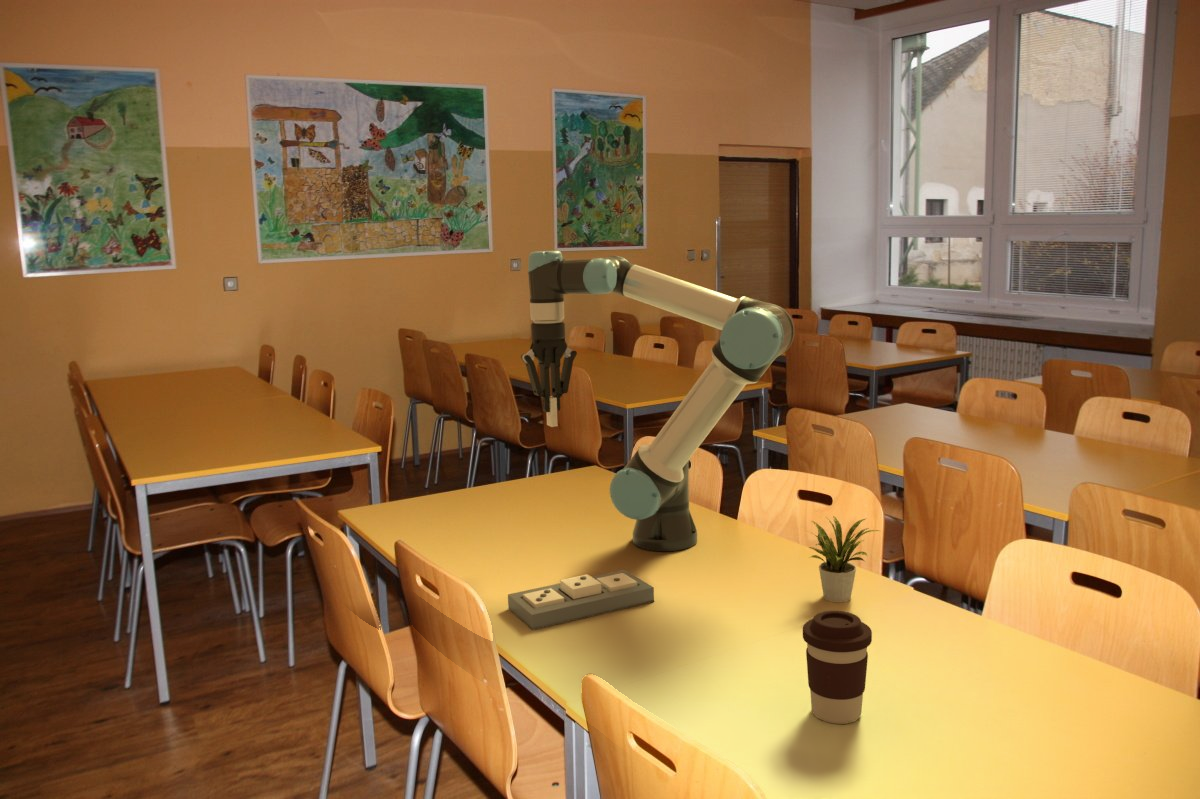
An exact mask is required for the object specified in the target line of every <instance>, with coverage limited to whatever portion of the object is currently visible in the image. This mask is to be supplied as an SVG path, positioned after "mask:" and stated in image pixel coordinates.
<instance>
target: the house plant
mask: <svg viewBox="0 0 1200 799" xmlns="http://www.w3.org/2000/svg"><path fill="white" fill-rule="evenodd" d="M825 518H826V519H827V521H828V522H829V523H830V524H831V526H832V530H833V532H834V536H835V540H836V546H835V544H834V541H833V539H832V537H829V536H828V533H827V532H826V531H825V529H824V528H823V527H822V526H821V525H819V524H818V523H817V522H815V521H813V520H811V522H812V523H813V524H814V525H815V527H816V528H817V532H818V533H817V535H816V534H815V533H813V532H811V531H809V530H807V532H809V533H810V534H813V535H814V536H815V537H816V538H817V541H818V543H816V544H815V546H817V545H818V546H820V547H821V549H819V548H816V547H813V546H812V547H811V546H808V548H809V549H811V550H814V551H815V552H817V553H818V554H820V555H822V556H823V557H825V560H826V561H825V560H824V559H823V558H822V557H820V556H819V555H811V556H810V557H808V559H810V558H814V559H819V560H821V561H822V563H820V564H819V566H818V569H819V575H820V576H819V577H820V583H821V587H822V588H821V589H822V595H823V599H824V600H826V601H829V602H832V603H846V602H849V601H850V600H851V599H852V594H853V588H854V582H855V576H856V571H857V567H856V565H855V564H853V563H850V561H864V562H865V560H864V559H863V558H862V557H859V556H856V555H864V556H866V557H867V558H868V557H869V556H868V553H867V552H866V551H859V552H858V551H857V552H856V553H854V551H855V549H856V548H857V546H859V545H860V544H861V543H862V542H864V541H865V539H862V540H858V539H860V538H861V537H862V536H863V535H865V534H867V533H871V532H880V530H877V529H870V528H868V527H867V528H863V529H861V530H860V531H858V532H856V533H854V532H855V531H856V529H857V528H858V527H859V526H860V525H861V523H863V522H864V521H866V520H867V518H862V519H860V520H857V521H856V522H855V523H854V524H852V525H851V527H850V528H849V530H848V531H847V533H846V536H845V538H844V541H843V531H842V526H841V525H842V524H841V523H840V521H839V520H838V519H837V517H836V516H834V515H833V522H834V524H833V522H832V521H831V520H830V519H829V518H828V517H827V516H825ZM869 529H870V530H869ZM853 553H854V554H853ZM852 554H853V555H852Z"/></svg>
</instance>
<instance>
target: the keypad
mask: <svg viewBox="0 0 1200 799" xmlns="http://www.w3.org/2000/svg"><path fill="white" fill-rule="evenodd" d="M620 573H624V574H626V575H627V576H629V577H630V578H632V579H634V580H635V581H637V586H634V587H629V588H625V589H620V590H616V591H611V592H609V591H607V590H606V589H604V588H603V587H601V593H600V594H595V595H591V596H586V597H582V598H577V599H573V598H571V597H570V596H569V595H567V594H566V593H565V592H563V591H562V590H561V587H560V582H559V583H556V584H550V585H547V586H545V585H544V586H540V587H537V588H532V589H526V590H522V591H517V592H512V593H508V594H507V602H508V604H507V606H508V608H507V609H508V610H509V611H510V612H511V613H512V614H514V615H515V616H516V617H517V618H518V619H519V620H521V621H522V622H523V623H524V624H525V625H526V626H527V627H528V628H530V630H531V631H535V630H539V629H543V628H548V627H552V626H556V625H561V624H565V623H569V622H573V621H577V620H582V619H586V618H590V617H595V616H599V615H604V614H607V613H608V614H609V613H612V612H616V611H620V610H621V611H622V610H625V609H629V608H634V607H637V606H641V605H646V604H651V603H654V602H655V593H654V592H655V588H654V587H655V586H654V587H653V586H652V585H651V584H649V583H648V582H646V581H644V580H642V579H641V578H639V577H637V576H636V575H635V574H633V573H631V572H629V571H627V570H626V569H621V570H617V571H611V572H607V573H603V574H597V575H592V576H591V577H592V578H594V579H595V580H597V578H601V577H606V576H611V575H615V574H620ZM550 588H552V589H553V590H554V591H556V592H557V593H558V594H560V595H561V596H562V597H564V602H562V603H557V604H553V605H548V606H544V607H539V608H535V609H534V608H533V607H531V606H530V605H529V604H528V603H526V602H525V601H524V600H523V594H526V593H531V592H535V591H540V590H545V589H550Z"/></svg>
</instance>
